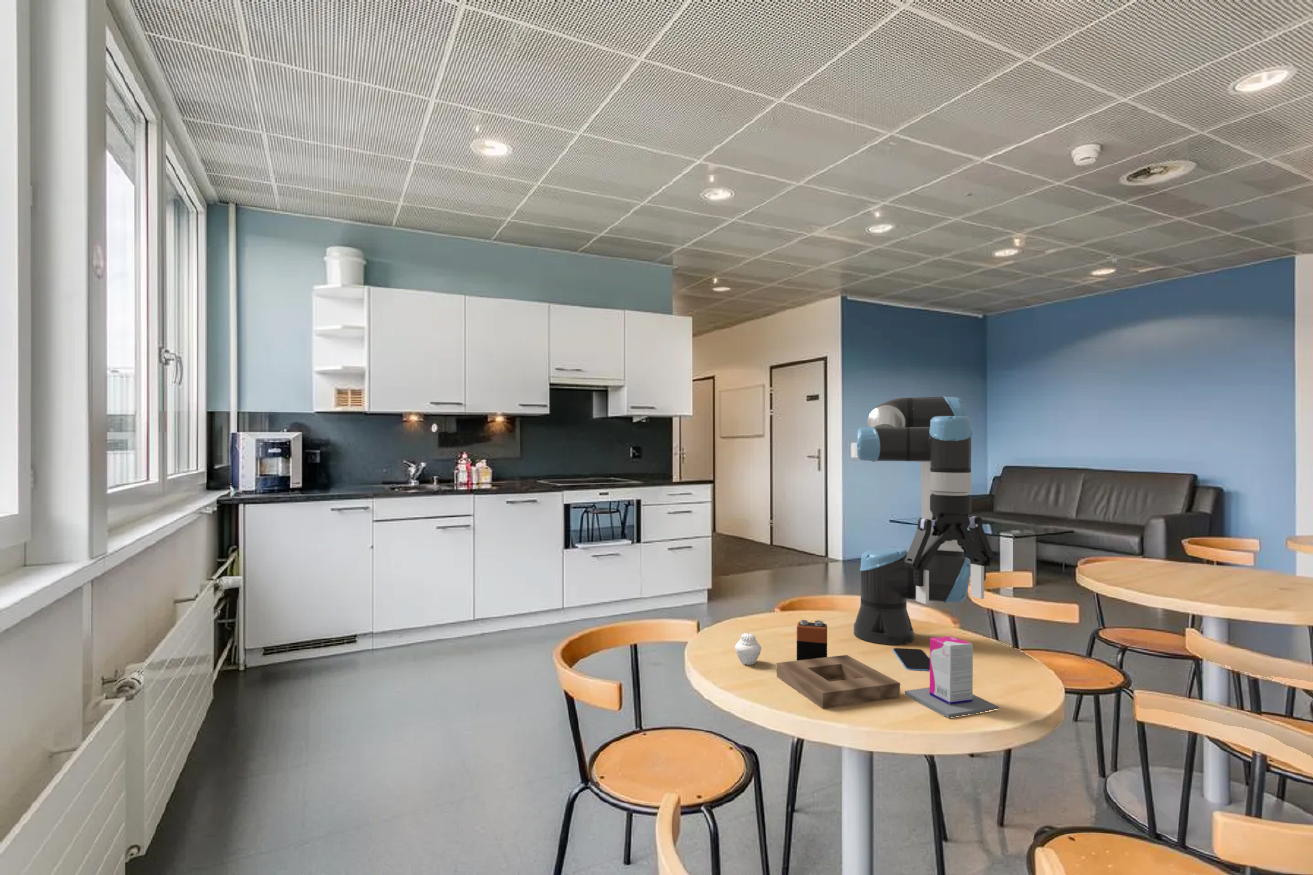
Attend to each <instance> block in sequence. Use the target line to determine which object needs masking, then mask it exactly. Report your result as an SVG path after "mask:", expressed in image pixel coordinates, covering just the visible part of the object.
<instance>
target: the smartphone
mask: <svg viewBox="0 0 1313 875" xmlns="http://www.w3.org/2000/svg"><path fill="white" fill-rule="evenodd" d="M892 651H893V653H894V655H895V656H896V657H897V659H898V660H899V662H900V663H901V664H902V666H903V667H904V669H905V670H907V671H915V672H916V671H920V672H922V671H925V672H930V656H929V655H927V653H925V651H924V650H922V649H919V648H907V647H905V648H903V647H894V648H893V649H892Z"/></svg>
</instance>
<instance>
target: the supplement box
mask: <svg viewBox="0 0 1313 875" xmlns="http://www.w3.org/2000/svg"><path fill="white" fill-rule="evenodd" d="M973 645H974V644H973V643H971V642H969V641H966V640H963V639H960V638H958V637H955V636H952V635H951V636H950V635H949V636H940V637H938V636H937V637H930V639H929V658H930V671H929V687H930V695H931V696H933V697H935V698H937V699H939V700H941V701H943V702H945V703H947V704H949V705H955V704H961V703H968V702H972V701H973V695H974V693H973V690H974V689H973V688H974V687H973V685H974V682H973V680H974V679H973V676H974V674H973V673H974V672H973V670H974V669H973V665H974V663H973V662H974V658H973V656H974V653H973V652H974V648H973V647H974V646H973Z"/></svg>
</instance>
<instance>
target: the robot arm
mask: <svg viewBox="0 0 1313 875" xmlns="http://www.w3.org/2000/svg"><path fill="white" fill-rule="evenodd" d="M867 417H868V418H867V421H866V422H867V423H866V424H867V427H860V428H858V429H857V433H856V453H857V454H856V456H857V458H858V460H860V461H865V462H866V461H867V462H873V463H874V462H918V463H919V462H921V464H920V466H921V467H920V468H921V470H920V472H921V480H920V481H921V486H920V487H921V490H920V491H921V495H920V496H921V517H919V518H918V521H917V530H916V531H915V534H914V536H913V539H912V541H911V544H910V547H909V548H908V551H907V549H906V548H904V547H881V548H880V547H879V548H874V549H869V550H866V551H864V552H862V555H861V557H860V558H861V559H860V568H859V571H860V606H859V609H858V612H857V615H856V619H855V622H854V623H853V634H854V636H855V637H856V638H858V639H860V640H863V641H866V642H871V643H874V644H875V643H877V644H881V645H905V644H910V643H912V642H913V641H914V638H915V637H914V636H915V635H914V628H913V626H912V621H911V618H910V614H909V612H908V609H907V607H908V606H907V603H908V602H907V600H915V601H916V602H918V603H921V604H924V605H929V604H930V602H938V603H943V604H947V603H950V604H951V603H955V604H960V603H962V602H964V601H965V600H966V598H967V595H968V589H969V584H970V597H973V598H976V599H979V600H982V599H983V600H984V599H985V581H986V579H987V567H990V566H991V564H992V563H994V562H995V558H996V557H995V555H994V552H993V549H992V547H991V545H990V543H989V540H988V538H987V535H986V533H985V530H984V528H983V527H984V526H983V518H982V517H981V516H975V515H970V514H971V513H972V496H971V495H970V494H971V492H972V462H971V461H972V436H973V431H972V420H971V418H970V417H968V416H967V411H966V406H965V404H964V402H963V400H962V399H961V398H959V397H955V396H954V397H953V396H943V395H942V396H925V397H924V396H923V397H922V396H921V397H897V398H894V399H890V400H887V401H884V402H882V403H880V404H878V405H877V406H876V407H874V408H873V409H872V410H871V411H870V412H869V415H868V416H867ZM969 493H970V494H969ZM958 541H959V543H960V544H961V546H962V547H963V548H962V547H961V546H960V545H959V544H958ZM964 550H965V552H966V553H967V554H968V556H969V557H970V558H971V559H970V558H968V557H966V556H965V552H964ZM971 560H972V561H973V563H971Z"/></svg>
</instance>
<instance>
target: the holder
mask: <svg viewBox="0 0 1313 875" xmlns="http://www.w3.org/2000/svg"><path fill="white" fill-rule="evenodd" d="M776 678H778V679H779V680H781V681H782V682H784V683H785V684H787V685H788V686H789V687H791V688H792V689H793V690H795V691H797V692H798V693H799V694H801V695H803V696H804V697H805V698H807V699H808V700H810V701H811V703H813V704H815V705H817V706H818V707H820V708H821V709H823V710H824V709H831V708H837V707H844V706H852V705H859V704H864V703H866V704H867V703H872V702H873V703H874V702H880V701H886V700H891V699H899V698H901V696H900V695H901V683H900V682H899V681H898V680H895V679H893V678H891V677H889V676H888V675H885V674H884V673H882V672H880V671H878V670H876V669H875V668H872V667H871V666H869V665H867V664H865V663H863V662H861V661H859V660H857V659H856V658H853V657H851V656H850V655H848V654H843V655H834V656H827V657H824V658H815V659H807V660H798V661H797V660H791V661H790V660H789V661H781V662H776ZM838 678H839V679H840V678H841V679H843V680H834V681H830V680H831V679H838Z"/></svg>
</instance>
